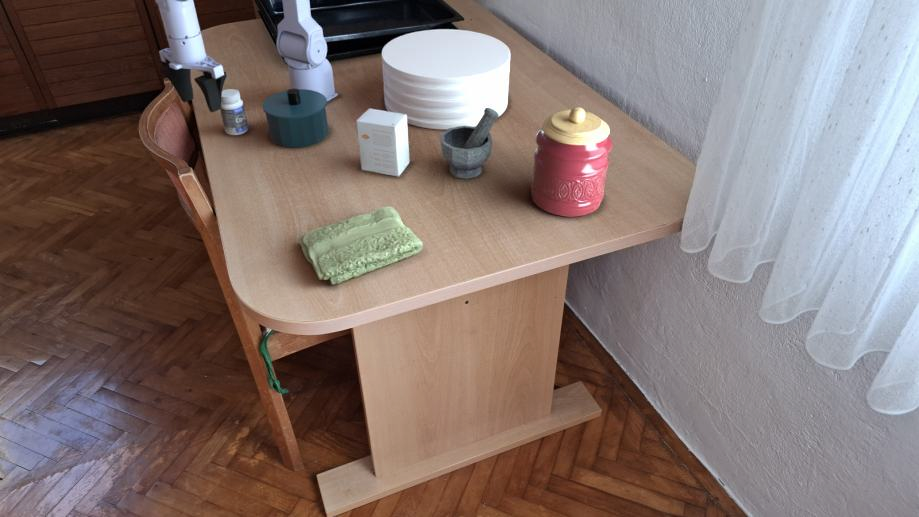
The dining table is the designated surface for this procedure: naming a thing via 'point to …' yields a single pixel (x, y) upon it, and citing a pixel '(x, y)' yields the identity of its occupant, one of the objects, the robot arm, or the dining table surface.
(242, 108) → the pill bottle
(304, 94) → the pot lid
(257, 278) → the dining table surface
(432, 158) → the dining table surface
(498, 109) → the plate stack
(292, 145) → the pot
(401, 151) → the small box
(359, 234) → the washcloth
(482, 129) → the mortar and pestle
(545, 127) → the kitchen canister
